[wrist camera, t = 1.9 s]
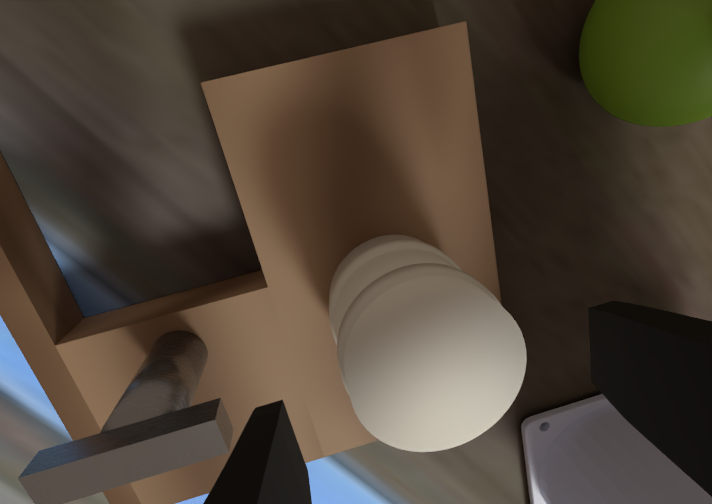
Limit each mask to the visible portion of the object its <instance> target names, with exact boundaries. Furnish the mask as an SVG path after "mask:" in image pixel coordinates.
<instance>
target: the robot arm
mask: <svg viewBox="0 0 712 504" xmlns="http://www.w3.org/2000/svg"><path fill="white" fill-rule="evenodd" d="M589 330H590V353H591V375H592V382H593V383H594V384H595V386H596V387H597V388H598V389H599V390H600V392H601V393H602V394H600V395H597V396H594V397H591V398H587V399H584V400H581V401H578V402H575V403H572V404H568V405H565V406H562V407H559V408H556V409H553V410H549V411H546V412H543V413H540V414H537V415H534V416H530V417H528V418H526V419H525V420H524V421H523V423H522V425H521V431H522V439H523V447H524V455H525V464H526V472H527V480H528V488H529V497H530V504H712V322H711V321H707V320H703V319H698V318H694V317H690V316H685V315H681V314H677V313H672V312H668V311H663V310H659V309H654V308H650V307H645V306H640V305H635V304H630V303H624V302H617V301H611V302H607V303H604V304H601V305H597V306H594V307H591V308H589ZM542 423H543V424H542ZM541 424H542V425H541ZM204 504H312V501H311V493H310V485H309V477H308V470H307V467H306V464H305V461H304V459H303V456H302V453H301V450H300V447H299V444H298V442H297V439H296V436H295V433H294V430H293V427H292V425H291V422H290V419H289V416H288V413H287V410H286V408H285V405H284V402H283V400H279V401H276V402H273V403H269V404H266V405H263V406H259V407H256V408H255V409H254V410H253V412H252V414H251V416H250V418H249V419H248V421H247V423H246V425H245V427H244V429H243V431H242V433H241V435H240V437H239V439H238V441H237V443H236V445H235V447H234V449H233V451H232V453H231V454H230V456H229V458H228V460H227V462H226V464H225V466H224V468H223V469H222V471H221V473H220V475H219V477H218V479H217V480H216V482H215V484H214V486H213V488H212V489H211V491H210V493H209V495H208V497H207V498H206V500H205V502H204Z"/></svg>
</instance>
